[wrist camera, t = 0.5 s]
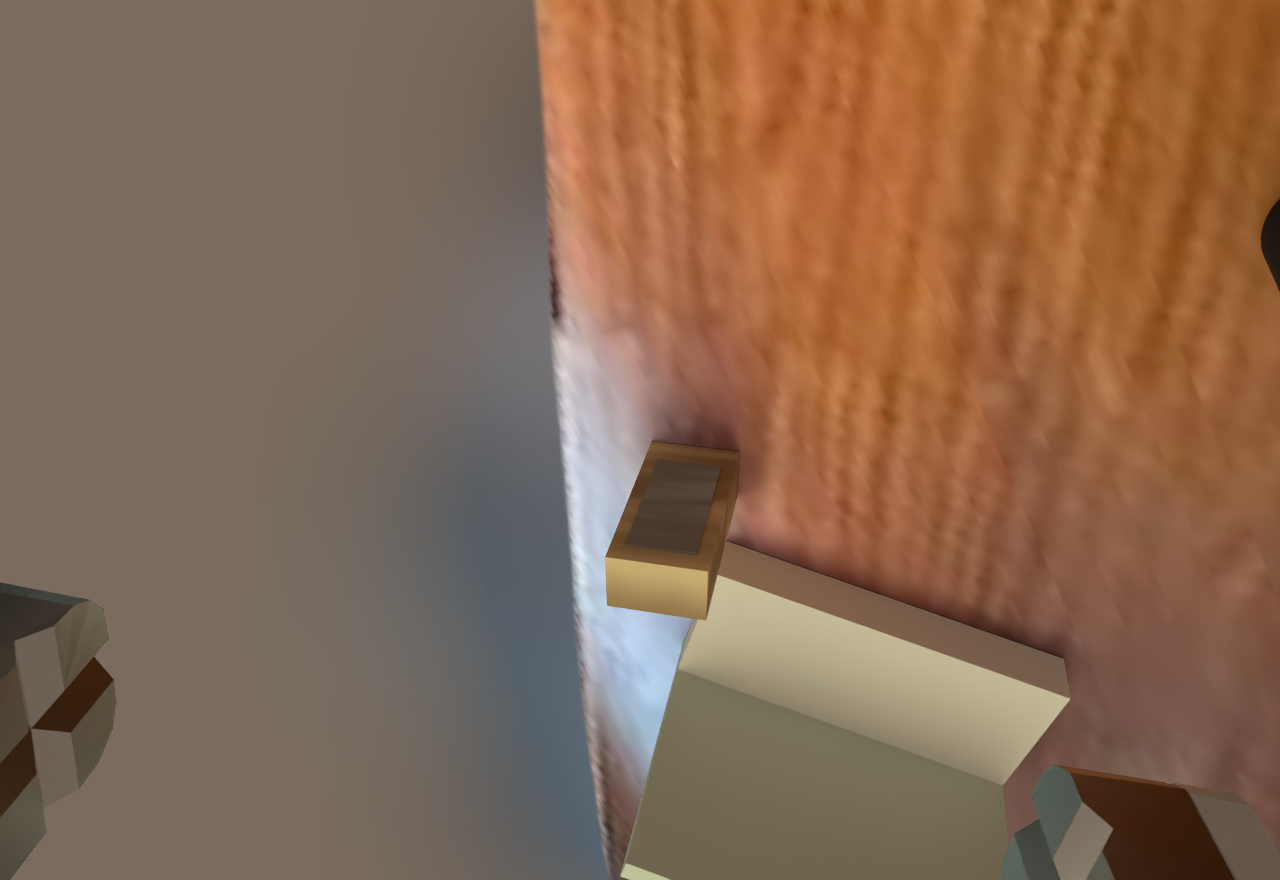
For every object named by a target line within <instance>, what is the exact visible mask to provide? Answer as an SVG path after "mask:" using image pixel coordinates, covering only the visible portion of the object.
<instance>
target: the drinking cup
mask: <svg viewBox="0 0 1280 880" xmlns="http://www.w3.org/2000/svg"><path fill="white" fill-rule="evenodd" d="M1261 247H1262V252H1263V255H1264V257H1265V260H1266V262H1267V264H1268V266H1269V268H1270V271H1271V273H1272V275H1273V277H1274V280H1275V282H1276V284H1277V286H1278V289H1279V291H1280V200H1279V201H1278V202H1277V203H1276V204H1275V206H1274V207H1273V208H1272V210H1271V211H1270V213H1269V214H1268V216H1267V218H1266V220H1265V223H1264V226H1263V229H1262V234H1261Z"/></svg>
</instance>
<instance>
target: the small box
mask: <svg viewBox="0 0 1280 880" xmlns="http://www.w3.org/2000/svg"><path fill="white" fill-rule="evenodd" d="M738 469H739V451H730V450H722V449H713V448H705V447H696V446H688V445H679V444H671V443H662V442H653V441H652V442H651V444H650V447H649V449H648V452H647V454H646V457H645V459H644V462H643V464H642V467H641V469H640V472H639V474H638V477H637V479H636V482H635V484H634V487H633V489H632V492H631V494H630V497H629V499H628V502H627V504H626V507H625V509H624V512H623V514H622V517H621V519H620V522H619V524H618V527H617V529H616V532H615V534H614V537H613V539H612V542H611V544H610V547H609V549H608V552H607V554H606V556H605V563H606V589H607V606H613V607H620V608H627V609H633V610H640V611H646V612H653V613H660V614H666V615H673V616H680V617H686V618H693V619H699V620H706V619H707V615H708V611H709V607H710V603H711V599H712V595H713V591H714V587H715V583H716V579H717V575H718V571H719V567H720V563H721V559H722V555H723V551H724V547H725V543H726V539H727V535H728V531H729V527H730V523H731V519H732V515H733V511H734V507H735V503H736V499H737V488H738Z"/></svg>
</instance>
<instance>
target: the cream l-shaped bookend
mask: <svg viewBox="0 0 1280 880" xmlns="http://www.w3.org/2000/svg"><path fill="white" fill-rule="evenodd" d="M1070 699H1071V698H1070V693H1069V687H1068V681H1067V675H1066V670H1065V664H1064V659H1063V658H1060V657H1057V656H1054V655H1051V654H1048V653H1045V652H1043V651H1040V650H1037V649H1034V648H1031V647H1028V646H1025V645H1023V644H1020V643H1017V642H1014V641H1011V640H1008V639H1005V638H1003V637H1000V636H997V635H994V634H991V633H988V632H985V631H983V630H980V629H977V628H974V627H971V626H968V625H965V624H963V623H960V622H957V621H954V620H951V619H948V618H945V617H943V616H940V615H937V614H934V613H931V612H928V611H925V610H923V609H920V608H917V607H914V606H911V605H908V604H905V603H903V602H900V601H897V600H894V599H891V598H888V597H885V596H883V595H880V594H877V593H874V592H871V591H868V590H865V589H863V588H860V587H857V586H854V585H851V584H848V583H845V582H843V581H840V580H837V579H834V578H831V577H828V576H825V575H822V574H820V573H817V572H814V571H811V570H808V569H805V568H802V567H800V566H797V565H794V564H791V563H788V562H785V561H782V560H780V559H777V558H774V557H771V556H768V555H765V554H762V553H760V552H757V551H754V550H751V549H748V548H745V547H742V546H740V545H737V544H734V543H731V542H728V541H726V543H725V547H724V551H723V555H722V559H721V563H720V567H719V571H718V575H717V579H716V583H715V587H714V591H713V595H712V599H711V603H710V607H709V611H708V615H707V619H706V620H699V619H693V621H692V624H691V626H690V629H689V631H688V634H687V636H686V639H685V641H684V644H683V646H682V649H681V653H680V657H679V660H678V664H677V668H676V671H675V675H674V679H673V683H672V686H671V690H670V694H669V697H668V701H667V705H666V709H665V712H664V716H663V720H662V723H661V727H660V731H659V735H658V738H657V742H656V746H655V749H654V753H653V757H652V760H651V764H650V768H649V772H648V775H647V779H646V783H645V786H644V790H643V794H642V798H641V801H640V805H639V809H638V812H637V816H636V820H635V824H634V827H633V831H632V835H631V838H630V842H629V846H628V850H627V853H626V857H625V861H624V864H623V868H622V872H621V875H620V876H621V877H624V878H627V879H629V880H1001V871H1002V862H1003V859H1004V857H1005V854H1006V852H1007V849H1008V837H1007V826H1006V815H1005V804H1004V793H1003V784H1004V783H1005V782H1006V781H1007V779H1008V778H1009V777H1010V776H1011V774H1012V773H1013V772H1014V770H1015V769H1016V768H1017V767H1018V765H1019V764H1020V763H1021V761H1022V760H1023V759H1024V758H1025V756H1026V755H1027V754H1028V753H1029V751H1030V750H1031V749H1032V747H1033V746H1034V745H1035V744H1036V742H1037V741H1038V740H1039V739H1040V737H1041V736H1042V735H1043V733H1044V732H1045V731H1046V730H1047V728H1048V727H1049V726H1050V724H1051V723H1052V722H1053V721H1054V719H1055V718H1056V717H1057V716H1058V714H1059V713H1060V712H1061V710H1062V709H1063V708H1064V707H1065V705H1066V704H1067V703H1068V701H1069V700H1070Z"/></svg>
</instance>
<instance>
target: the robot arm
mask: <svg viewBox="0 0 1280 880" xmlns="http://www.w3.org/2000/svg"><path fill="white" fill-rule="evenodd" d="M108 639H109V637H108V632H107V626H106V620H105V615H104V609H103V608H102V607H101V606H99V605H98V604H96V603H94V602H93V601H91V600H88V599H83V598H78V597H73V596H68V595H63V594H57V593H53V592H47V591H42V590H37V589H32V588H27V587H22V586H17V585H12V584H6V583H1V582H0V880H10V879H11V878H12V877H13V875H14V874H15V873H16V871H17V870H18V869H19V867H20V866H21V865H22V863H23V862H24V861H25V860H26V858H27V857H28V856H29V854H30V853H31V852H32V851H33V849H34V848H35V847H36V845H37V844H38V843H39V841H40V840H41V839H42V837H43V836H44V835H45V834H46V822H45V810H44V807H46V806H48V805H50V804H52V803H53V802H56V801H57V800H59V799H61V798H63V797H65V796H67V795H69V794H71V793H73V792H75V791H77V790H78V789H80V787H81V786H82V784H83V783H84V782H85V780H86V779H87V778H88V776H89V774H90V773H91V772H92V771H93V769H94V768H95V766H96V765H97V764H98V762H99V760H100V758H101V756H102V753H103V751H104V748H105V746H106V743H107V741H108V739H109V736H110V734H111V731H112V729H113V722H114V715H115V707H116V696H115V687H114V679H113V678H112V677H111V676H110V675H109V673H108V672H107V671H106V670H105V669H104V668H103V667H102V665H101V664H100V663H99V662H98V661H97V660H96V658H95V657H94V656H95V655H96V653H97V652H98V651H99V650H100V649H101V648H102V646H103V645H104V644H105V643H106V642H107V641H108ZM1031 798H1032V800H1033V803H1034V806H1035V809H1036V812H1037V815H1038V818H1039V819H1038V820H1036V821H1034V822H1032V823H1031V824H1029V825H1027V826H1026V827H1024V828H1022V829H1021V830H1019V831H1017V832H1015V833H1014V835H1013V837H1012V839H1011V842H1010V844H1009V847H1008V849H1007V852H1006V854H1005V857H1004V859H1003V862H1002V871H1001V880H1280V854H1279V852H1278V850H1277V849H1276V847H1275V845H1274V844H1273V842H1272V840H1271V839H1270V837H1269V836H1268V834H1267V832H1266V831H1265V829H1264V827H1263V826H1262V824H1261V822H1260V821H1259V819H1258V817H1257V816H1256V814H1255V812H1254V811H1253V809H1252V808H1251V806H1250V805H1249V804H1248V803H1247V802H1246V801H1245V800H1243V799H1242V798H1241V797H1240V796H1238V795H1237V794H1236V793H1235V792H1230V791H1224V790H1217V789H1211V788H1204V787H1198V786H1191V785H1185V784H1178V783H1172V784H1168V783H1165V782H1159V781H1153V780H1147V779H1141V778H1135V777H1129V776H1123V775H1117V774H1110V773H1104V772H1098V771H1092V770H1086V769H1080V768H1074V767H1067V766H1061V765H1055V764H1054V765H1053V766H1051V767H1050V768H1049V769H1048V770H1047V771H1046V772H1045V773H1043V774H1042V775H1041V777H1040V779H1039V781H1038V784H1037V786H1036V788H1035V790H1034V792H1033V794H1032V796H1031Z"/></svg>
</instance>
